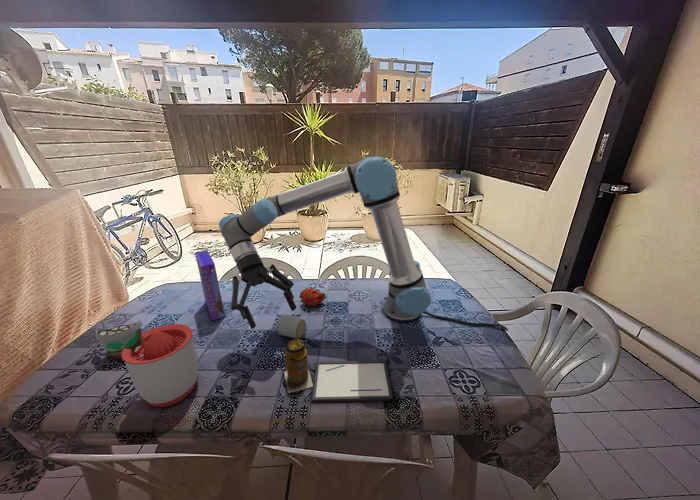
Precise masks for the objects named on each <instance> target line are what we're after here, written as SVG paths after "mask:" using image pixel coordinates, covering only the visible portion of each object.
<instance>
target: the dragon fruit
mask: <svg viewBox="0 0 700 500" xmlns="http://www.w3.org/2000/svg"><path fill="white" fill-rule="evenodd" d="M298 297H299V299H300V303H302V304H306V305H307V306H308V307H309V308H311V307H312V306H315V307H319V306H321V305H322V302H324V300H325V299H326V298H327V295H326V293H325V292H321V291H320V289H318V288H317V289H316V288H314V287H306V288H304V289H303V290H302V291H301V292H299V295H298Z"/></svg>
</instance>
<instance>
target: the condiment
mask: <svg viewBox="0 0 700 500" xmlns="http://www.w3.org/2000/svg"><path fill="white" fill-rule="evenodd" d="M285 349H286V352H285V362H286V363H285V364H286V370H284V371H283V372H284V374H283V375H284V380H285V384H286V391H287V394H290V393H295V392H299V391H303V390H306V389H309V388H314V382H313V380H312V377H311V372H310V369H309V364H308V352H307V349H306V343H305V341H304V340H302V339H300V338H299V339H296V338H294V339H292V340H290V341H288V343H287V344H286V347H285Z"/></svg>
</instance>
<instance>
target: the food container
mask: <svg viewBox="0 0 700 500" xmlns="http://www.w3.org/2000/svg"><path fill="white" fill-rule="evenodd" d="M142 327H143V323H142V321H141V320H140V319H137V322H135V323H130V324H123V325H117V326H115V327H112V328H108V329H105V330H100V331H98V329H95V339H96V341H98V342H101V344H102V345H103V348H104V349H105V351H106V354H108V356H109V358H111V359H113V360H121V359H122V357H121V354H122V351H123V349H131V350H132V352H134V351H135V349H136V347H139V346H142V345H143V343H142V339H141V335H140V334H142V333H143V332H142ZM122 360H123V359H122Z"/></svg>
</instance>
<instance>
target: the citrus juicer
mask: <svg viewBox="0 0 700 500" xmlns="http://www.w3.org/2000/svg"><path fill="white" fill-rule="evenodd" d="M140 335H141V339H142V343H143V345H142V346H139V347H136V349H135V351H134V352H132V350H131V349H123V351H122V354H121V357H122V361H123V362H124V364H125V366H126V369H127V372H128V374H129V377H130V380H131V382H132V384H133V387H134V388H135V391H136V392H137V394H138V395H139V396H140V397H141V398H142V399H143V401H145V402H146V404H149V405H150V406H152V407H155V408H165V407H168V406H169V407H170V406H173V405H175V404H177V403H179V402H180V401H182V400H184V399H185V398H186V397H188V396H189V395H190V394H191V393H192V392H193V390H194V389H195V387H196V385H197V381H198V378H199V377H198V376H199V358H198V354H197V351H196V345H195V341H194V338H193V329H192V328H191V327H190V326H188V325H185V324H182V323H172V324H171V323H170V324H165V325H160V326H156V327H154V328H151V329H149V330H146V331H144V332H142V334H140Z"/></svg>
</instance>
